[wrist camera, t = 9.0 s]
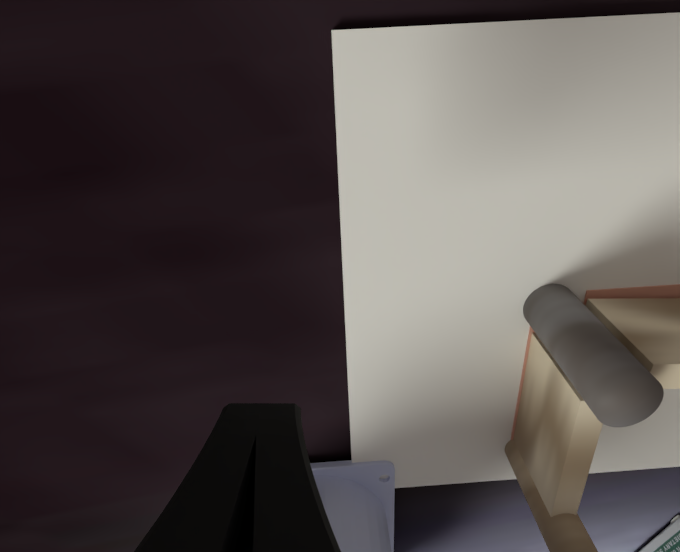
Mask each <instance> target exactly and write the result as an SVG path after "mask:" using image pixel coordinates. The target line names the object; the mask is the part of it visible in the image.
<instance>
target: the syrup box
mask: <svg viewBox="0 0 680 552" xmlns="http://www.w3.org/2000/svg"><path fill="white" fill-rule="evenodd" d="M639 552H680V515H677V516H676V517H674V518H673V519H672V520H671V524H670V525H669V526H668V527H667V528H665V529H664V530H663V531H662V532H661V533H660V534H659V535H657V536H656V537H655V538H654V539H653V540H652V541H650V542H649V543H648V544H647V545H646V546H645V547H643V548H642V549H641V550H640V551H639Z"/></svg>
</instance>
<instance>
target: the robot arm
mask: <svg viewBox="0 0 680 552" xmlns="http://www.w3.org/2000/svg"><path fill="white" fill-rule="evenodd" d="M382 475H388V476H389V477H388V478H385V479H381V478H379V477H380V476H382ZM394 497H395V468H394V464H393V463H392V462H390V461H385V460H383V461H370V462H356V463H352V460H346V461H333V462H320V463H310V461H309V457H308V453H307V449H306V445H305V440H304V435H303V430H302V422H301V408H299V407H298V406H297V405H296V404H228V405H227V406H226V407H224V408H223V410H222V412H221V415H220V417H219V419H218V421H217V423H216V425H215V427H214V428H213V430H212V432H211V434H210V436H209V438H208V440H207V441H206V443H205V445H204V447H203V448H202V450H201V452H200V454H199V455H198V457H197V459H196V460H195V462H194V464H193V465H192V467H191V469H190V470H189V472H188V473H187V475H186V476H185V478H184V480H183V481H182V483H181V484H180V486H179V487H178V489H177V491H176V492H175V494H174V495H173V497H172V498H171V500H170V501H169V503H168V505H167V506H166V507H165V509H164V510H163V512H162V513H161V515H160V516H159V518H158V519H157V520H156V522H155V523H154V525H153V526H152V527H151V529H150V530H149V532H148V533H147V534H146V536H145V537H144V539H143V540H142V542H141V543H140V544H139V546H138V547H137V549H136V550H135V551H134V552H394Z"/></svg>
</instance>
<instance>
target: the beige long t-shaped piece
mask: <svg viewBox="0 0 680 552" xmlns="http://www.w3.org/2000/svg"><path fill="white" fill-rule="evenodd" d="M585 306H586V307H587V308H588V309H589V310H590V311H591V312H592V313H593V314H594V315H595V316H596V317H597V318H598V319H599V320H600V321H601V322H602V323H603V324H604V325H605V326H606V328H607V329H608V330H609V331H610V332H611V333H612V334H613V335H614V336H615V337H616V338H617V339H618V340H619V341H620V342H621V343H622V344H623V345H624V346H625V347H626V348H627V349H628V350H629V351H630V352H631V353H632V354H633V355H634V356H635V358H636V359H637V360H638V361H639V362H640V363H641V364H642V365H643V366H644V367H645V368H646V369H647V370H648V371H649V372H650V373H651V374H652V375H653V376H654V377H655V378H656V379H657V380H658V381H659V382H660V384H661V385H662V387H663V389H680V298H618V299H587V302H586V305H585Z"/></svg>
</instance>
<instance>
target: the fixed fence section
mask: <svg viewBox="0 0 680 552" xmlns="http://www.w3.org/2000/svg"><path fill="white" fill-rule="evenodd" d="M523 315H524V317H525V319H526V321H527V322H528V323H529V325H530V326H531V328H532V329H533V330H534V332H535V333H532V335H531V341H530V347H529V352H528V358H527V364H526V369H525V375H524V381H523V386H522V392H521V398H520V403H519V409H518V415H517V421H516V426H515V432H514V438H513V440H510V441H509V442H508V443H507V444H506V446H505V454H506V456H507V458H508V460H509V462H510V465H511V467H512V469H513V471H514V474H515V476H516V478H517V480H518V482H519V485H520V487H521V489H522V491H523V494H524V496H525V498H526V500H527V502H528V505H529V507H530V509H531V511H532V514H533V516H534V518H535V520H536V522H537V525H538V527H539V529H540V531H541V534H542V536H543V538H544V540H545V542H546V545H547V547H548V549H549V551H550V552H598V551H597V549H596V547H595V546H594V544H593V542H592V540H591V538H590V536H589V534H588V533H587V531H586V529H585V527H584V525H583V523H582V522H581V520H580V518H579V516H578V514H577V511H578V507H579V504H580V501H581V497H582V494H583V490H584V487H585V484H586V480H587V477H588V473H589V470H590V466H591V463H592V460H593V456H594V453H595V449H596V446H597V443H598V439H599V436H600V432H601V429H602V425H603V424H604V425H607V426H610V427H627V426H631V425H634V424H637V423H639V422H641V421H643V420H645V419H646V418H648V417H649V416H650V415H652V414H653V413H654V412H655V411H656V410H657V408H658V407H659V406H660V404H661V402H662V399H663V395H664V391H663V387H662V385H661V384H660V382H659V381H658V380H657V379H656V378H655V377H654V376H653V375H652V374H651V373H650V372H649V371H648V370H647V369H646V368H645V367H644V366H643V365H642V364H641V363H640V362H639V361H638V360H637V359H636V358H635V356H634V355H633V354H632V353H631V352H630V351H629V350H628V349H627V348H626V347H625V346H624V345H623V344H622V343H621V342H620V341H619V340H618V339H617V338H616V337H615V336H614V335H613V334H612V333H611V332H610V331H609V330H608V329H607V328H606V326H605V325H604V324H603V323H602V322H601V321H600V320H599V319H598V318H597V317H596V316H595V315H594V314H593V313H592V312H591V311H590V310H589V309H588V308H587V307H586V306H585V305H584V304H583V303H582V302H581V301H580V300H579V299H578V298H577V297H576V295H575V294H574V293H573V292H572V291H571V290H570V289H569V288H567V287H566V286H564V285H561V284H547V285H544V286H541V287H539V288H537V289H536V290H534V291H533V292H532V293H531V294H530V295H529V296H528V298H527V299H526V301H525V303H524V306H523Z"/></svg>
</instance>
